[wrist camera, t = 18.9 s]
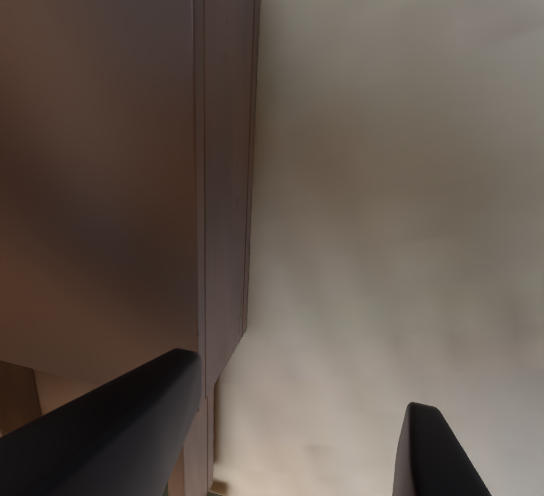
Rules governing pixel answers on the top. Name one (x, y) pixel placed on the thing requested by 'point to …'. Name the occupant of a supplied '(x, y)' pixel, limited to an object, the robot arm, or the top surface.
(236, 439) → the top surface
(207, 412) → the drawer
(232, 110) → the cabinet
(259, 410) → the top surface
